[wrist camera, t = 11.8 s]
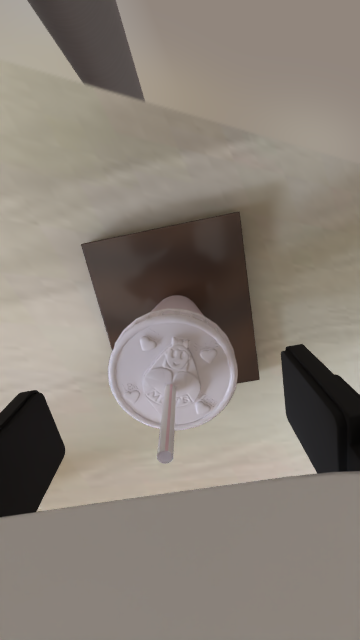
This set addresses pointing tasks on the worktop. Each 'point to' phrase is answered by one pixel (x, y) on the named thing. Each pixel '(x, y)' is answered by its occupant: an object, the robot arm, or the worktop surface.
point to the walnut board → (178, 279)
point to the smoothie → (172, 370)
